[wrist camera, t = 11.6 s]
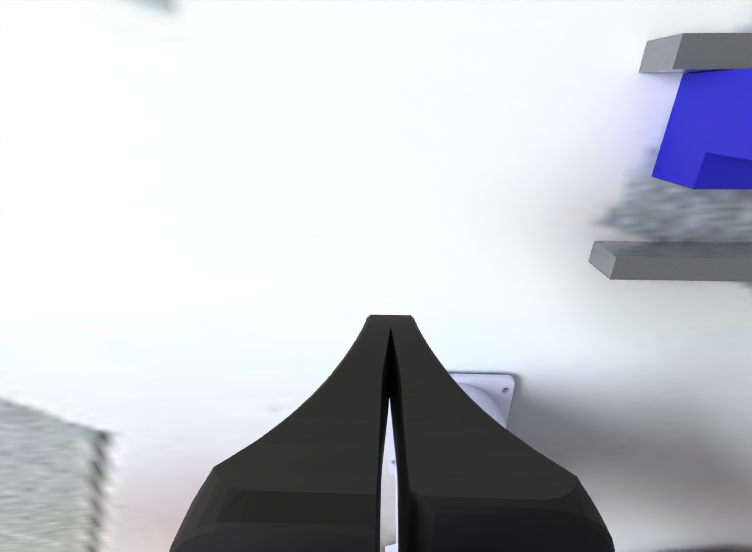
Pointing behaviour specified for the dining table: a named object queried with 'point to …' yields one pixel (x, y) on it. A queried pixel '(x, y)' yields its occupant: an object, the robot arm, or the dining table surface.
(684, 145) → the blue stepped block
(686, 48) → the rail bracket
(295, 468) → the robot arm
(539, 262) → the dining table surface
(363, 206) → the dining table surface
